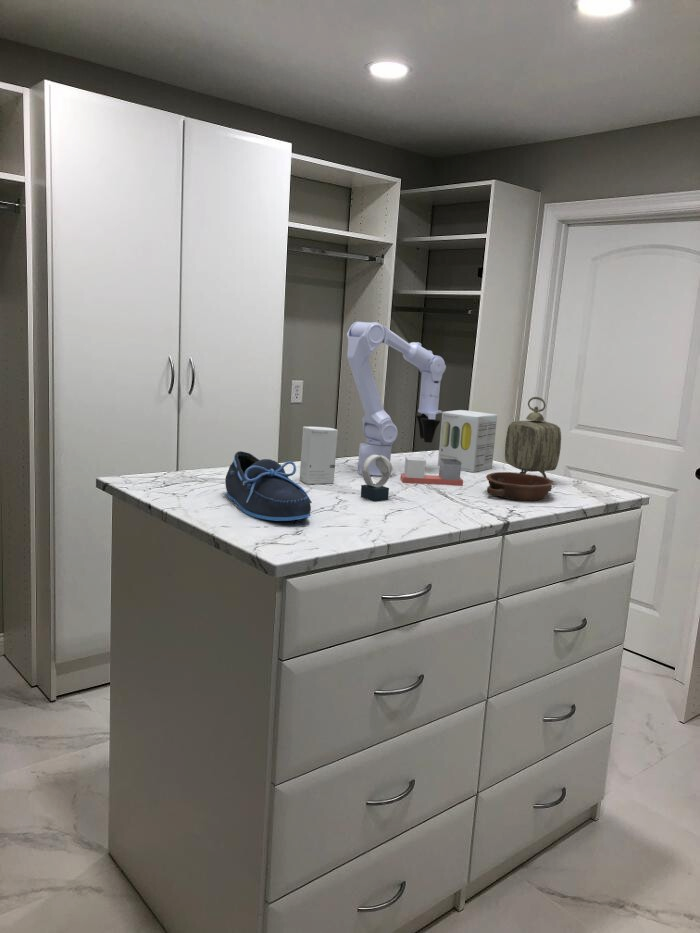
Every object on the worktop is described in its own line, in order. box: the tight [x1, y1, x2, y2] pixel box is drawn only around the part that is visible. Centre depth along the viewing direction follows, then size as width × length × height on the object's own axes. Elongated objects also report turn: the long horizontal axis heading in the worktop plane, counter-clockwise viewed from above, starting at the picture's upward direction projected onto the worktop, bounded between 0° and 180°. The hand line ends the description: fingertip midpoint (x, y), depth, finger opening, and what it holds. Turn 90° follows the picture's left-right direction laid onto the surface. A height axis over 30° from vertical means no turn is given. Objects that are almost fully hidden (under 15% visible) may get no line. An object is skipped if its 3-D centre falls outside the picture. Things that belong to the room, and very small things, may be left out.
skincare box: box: [299, 426, 339, 485], centre depth 204 cm, size 8×6×15 cm
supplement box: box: [437, 409, 498, 473], centre depth 241 cm, size 13×13×18 cm
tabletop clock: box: [504, 396, 562, 479], centre depth 224 cm, size 14×9×25 cm, turn 31°
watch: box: [360, 455, 393, 503], centre depth 189 cm, size 6×8×11 cm
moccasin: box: [224, 450, 312, 522], centre depth 172 cm, size 14×34×12 cm, turn 36°
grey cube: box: [438, 459, 462, 480], centre depth 215 cm, size 5×5×5 cm
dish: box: [486, 471, 554, 502], centre depth 204 cm, size 18×22×5 cm
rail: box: [400, 456, 464, 487], centre depth 214 cm, size 17×5×6 cm, turn 94°
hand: (425, 440), depth 230 cm, fingers open, 7 cm apart
